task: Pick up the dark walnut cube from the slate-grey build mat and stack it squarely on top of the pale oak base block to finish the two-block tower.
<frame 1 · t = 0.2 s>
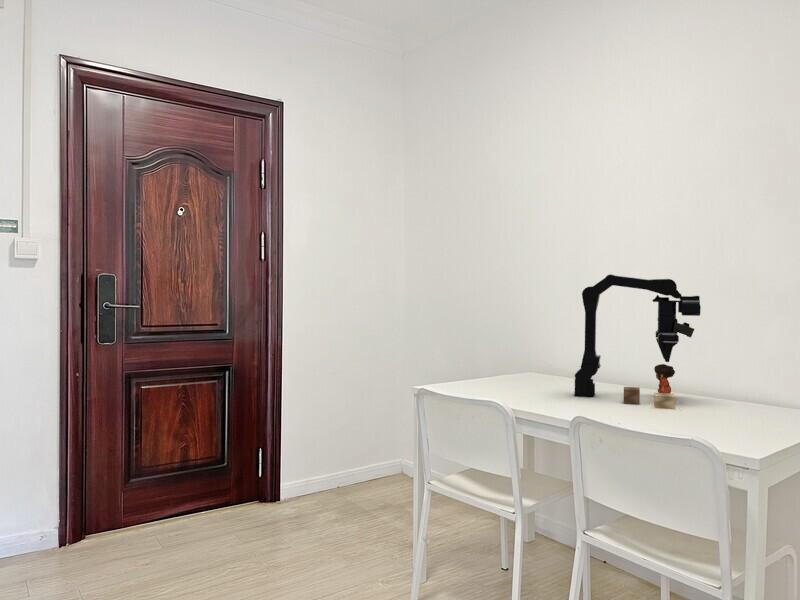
hand: (666, 360, 209), 14 cm above the table, fingers open, 9 cm apart
oak base block: (664, 406, 197), resting on build mat
figurine: (663, 398, 217), on the table
build mat: (647, 406, 200), on the table
walnut cube: (631, 403, 205), resting on build mat
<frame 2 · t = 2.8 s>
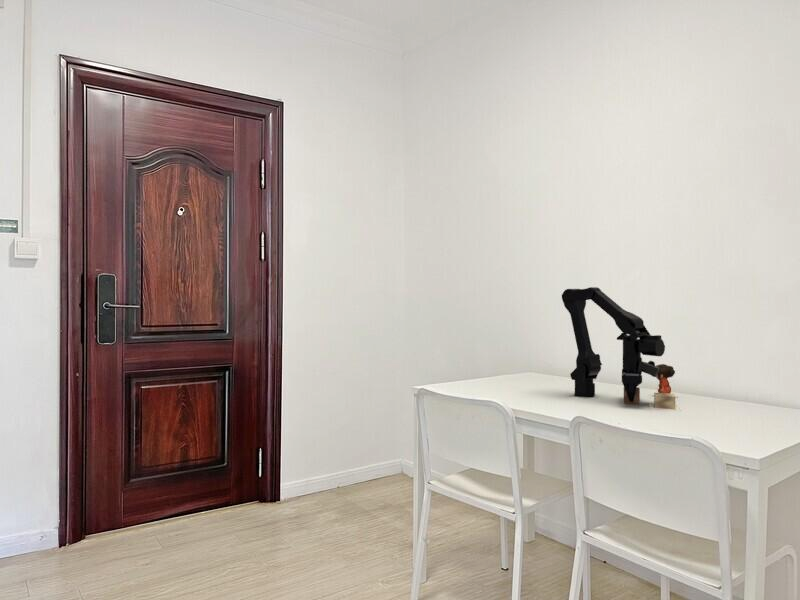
hand: (631, 400, 205), 1 cm above the table, fingers closed on walnut cube, 5 cm apart
walnut cube: (631, 403, 205), resting on build mat, touching gripper
everything else where it was.
when the fingers open (7 cm above the table, at t = 6.2 s): walnut cube drops 1 cm, resting on oak base block.
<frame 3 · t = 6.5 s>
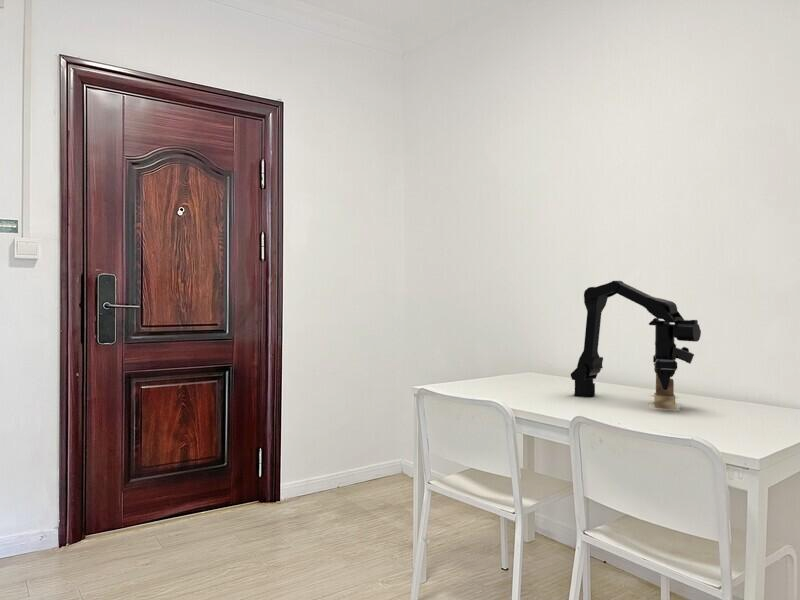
hand: (664, 387, 197), 7 cm above the table, fingers open, 8 cm apart
oak base block: (664, 406, 197), resting on build mat, touching walnut cube
walnut cube: (664, 394, 197), point 4 cm above the table, touching oak base block
everything else where it was.
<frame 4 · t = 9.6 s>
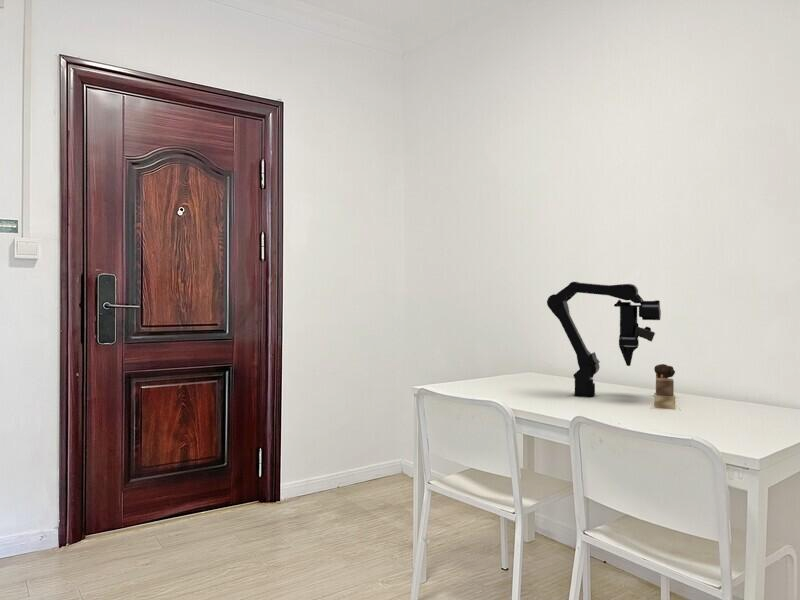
hand: (628, 364, 212), 13 cm above the table, fingers open, 9 cm apart
nothing on the table moved.
at the end: walnut cube 0.0 cm off-centre on the oak base block, point 4.0 cm above the oak base block's base; walnut cube tilted 0°; oak base block moved 0.0 cm from its start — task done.
